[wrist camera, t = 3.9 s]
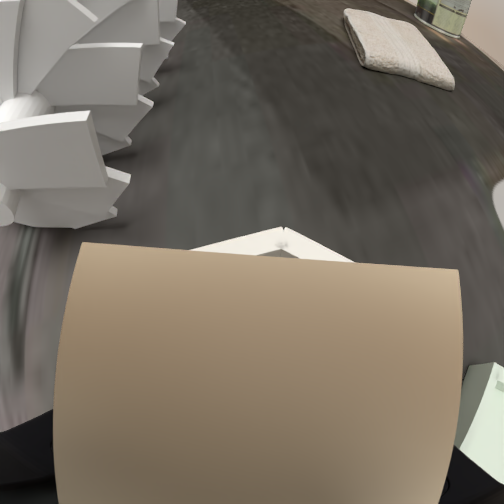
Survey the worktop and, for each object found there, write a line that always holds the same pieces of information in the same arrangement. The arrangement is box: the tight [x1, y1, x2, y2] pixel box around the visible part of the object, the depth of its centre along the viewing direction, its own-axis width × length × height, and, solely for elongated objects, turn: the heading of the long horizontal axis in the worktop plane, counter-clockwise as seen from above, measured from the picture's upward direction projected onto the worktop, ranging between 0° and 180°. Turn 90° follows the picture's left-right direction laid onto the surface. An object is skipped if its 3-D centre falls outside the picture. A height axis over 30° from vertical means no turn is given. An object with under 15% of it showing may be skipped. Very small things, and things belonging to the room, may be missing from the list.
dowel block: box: [53, 242, 463, 504], centre depth 8 cm, size 4×4×12 cm
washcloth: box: [344, 9, 455, 91], centre depth 25 cm, size 12×18×3 cm, turn 175°
